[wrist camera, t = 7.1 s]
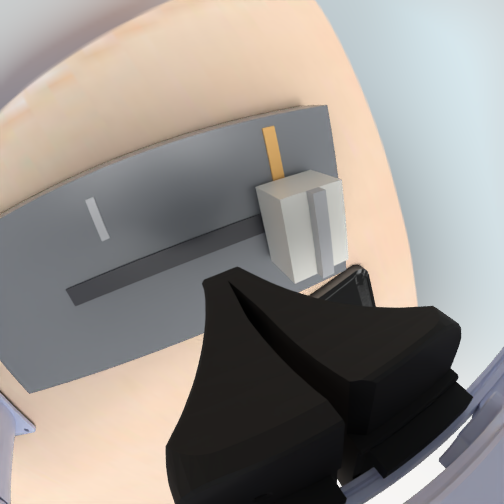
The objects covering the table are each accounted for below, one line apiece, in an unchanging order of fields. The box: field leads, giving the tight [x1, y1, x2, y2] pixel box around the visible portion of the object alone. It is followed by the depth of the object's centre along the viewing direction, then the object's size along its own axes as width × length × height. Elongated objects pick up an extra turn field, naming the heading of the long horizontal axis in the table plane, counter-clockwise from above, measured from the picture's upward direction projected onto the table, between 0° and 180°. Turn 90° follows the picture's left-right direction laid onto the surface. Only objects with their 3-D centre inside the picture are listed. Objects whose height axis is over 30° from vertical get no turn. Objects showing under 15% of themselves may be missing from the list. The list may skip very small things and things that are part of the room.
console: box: [0, 105, 346, 394], centre depth 15 cm, size 22×10×3 cm, turn 102°
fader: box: [255, 170, 348, 284], centre depth 14 cm, size 3×4×3 cm
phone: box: [310, 265, 376, 307], centre depth 25 cm, size 8×1×15 cm
